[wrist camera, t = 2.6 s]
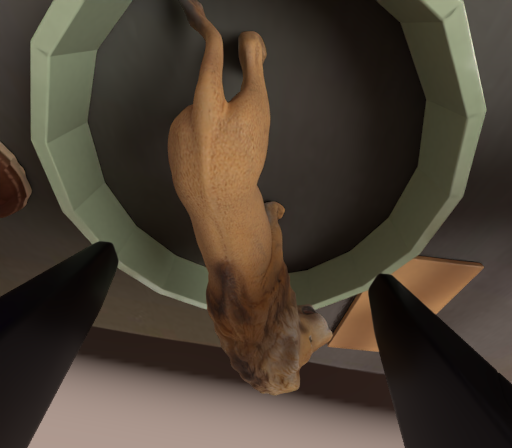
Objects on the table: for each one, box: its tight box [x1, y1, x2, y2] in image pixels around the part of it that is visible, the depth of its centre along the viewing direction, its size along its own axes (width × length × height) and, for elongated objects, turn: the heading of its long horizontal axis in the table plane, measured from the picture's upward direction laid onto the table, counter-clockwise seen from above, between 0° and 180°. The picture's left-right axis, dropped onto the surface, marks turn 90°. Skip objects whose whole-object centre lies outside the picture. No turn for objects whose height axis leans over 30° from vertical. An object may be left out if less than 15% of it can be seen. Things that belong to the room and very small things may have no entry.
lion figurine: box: [168, 0, 333, 395], centre depth 10 cm, size 15×5×9 cm, turn 17°
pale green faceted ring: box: [30, 0, 487, 310], centre depth 13 cm, size 18×18×3 cm
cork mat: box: [327, 256, 484, 352], centre depth 21 cm, size 7×13×1 cm, turn 173°
